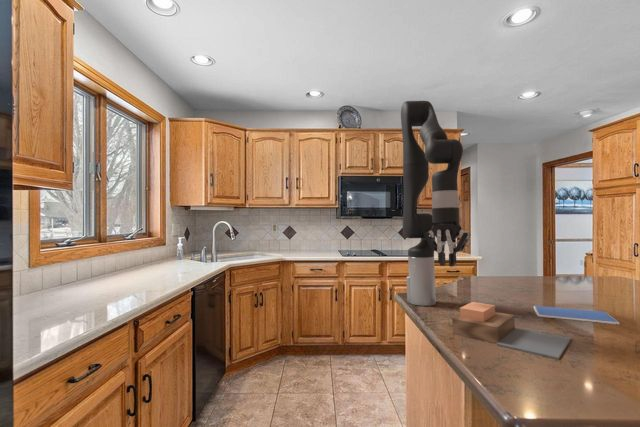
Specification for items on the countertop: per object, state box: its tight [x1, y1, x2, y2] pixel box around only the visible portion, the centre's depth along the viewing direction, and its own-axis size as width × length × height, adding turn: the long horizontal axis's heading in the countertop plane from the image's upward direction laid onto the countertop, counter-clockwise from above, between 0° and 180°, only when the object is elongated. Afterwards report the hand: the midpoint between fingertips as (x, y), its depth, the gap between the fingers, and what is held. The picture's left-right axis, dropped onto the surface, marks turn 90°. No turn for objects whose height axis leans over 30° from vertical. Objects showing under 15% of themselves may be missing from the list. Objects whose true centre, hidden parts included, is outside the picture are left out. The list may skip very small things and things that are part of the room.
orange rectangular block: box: [459, 301, 496, 322], centre depth 87 cm, size 6×9×2 cm, turn 134°
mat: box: [496, 327, 572, 360], centre depth 78 cm, size 12×16×1 cm
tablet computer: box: [533, 305, 621, 325], centre depth 99 cm, size 19×13×1 cm, turn 62°
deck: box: [452, 311, 516, 345], centre depth 86 cm, size 11×14×4 cm
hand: (447, 265), depth 94 cm, fingers closed
